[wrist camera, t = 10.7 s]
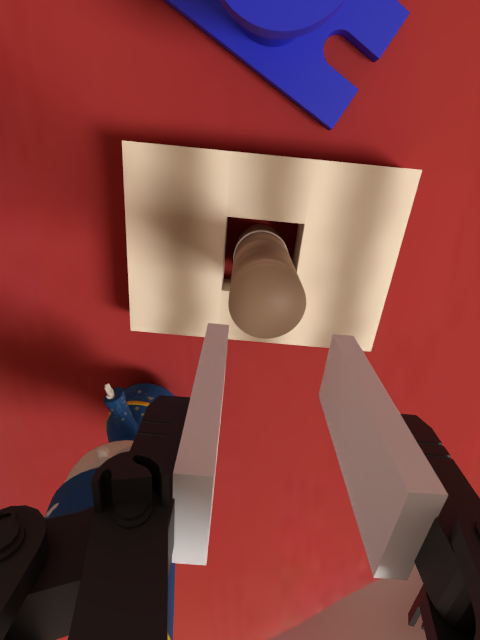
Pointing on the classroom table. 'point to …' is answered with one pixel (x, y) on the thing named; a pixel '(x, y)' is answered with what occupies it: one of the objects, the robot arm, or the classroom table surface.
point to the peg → (264, 285)
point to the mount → (298, 42)
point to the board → (263, 204)
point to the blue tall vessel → (120, 434)
